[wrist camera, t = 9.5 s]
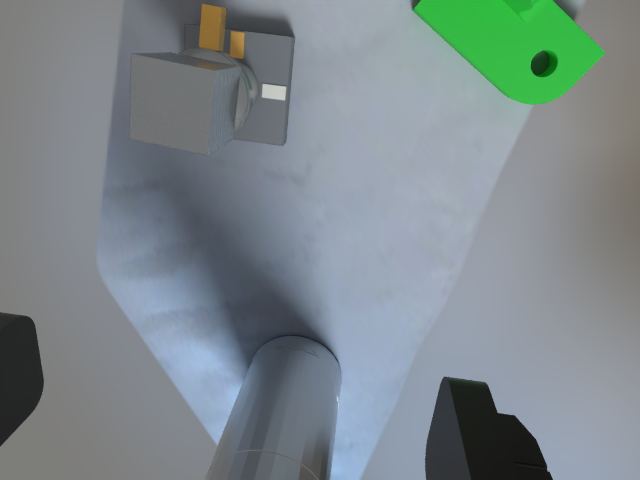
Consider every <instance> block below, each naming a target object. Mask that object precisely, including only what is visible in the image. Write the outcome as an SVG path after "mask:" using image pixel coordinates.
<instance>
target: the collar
mask: <svg viewBox="0 0 640 480" xmlns="http://www.w3.org/2000/svg"><path fill="white" fill-rule="evenodd" d="M226 12H227V9H226V8H222V7H217V6H212V5H207V4H202V10H201V24H200V37H199V47H201V48H194V49H189V50H186V51H183V52H181V53H179V54H176V53H171V52H169V53H139V54H131V93H130V139H132V140H137V141H142V142H147V143H152V144H156V145H161V146H166V147H171V148H176V149H180V150H185V151H190V152H195V153H200V154H204V155H209V154H210V153H212V152H213V151H215V150H216V149H218V148H220V147H221V146H223V145H224V144H226V143H227V142H229V141H230V140H232V139H233V138H234V132H235V131H237V130H238V129H239V128H241V127H242V126H243V124H244V123H245V122H246V120H247V119H248V117H249V115H250V112H251V109H252V105H253V89H252V85H251V81H250V79H249V76H248V74H247V72H246V71H245V69H244V68H243V66H242V65H241V64H240V63H239V62H238V61H237V60H236V59H235V58H234V57H232V56H231V55H229V54H228V53H226V52H223V45H224V34H225V23H226Z"/></svg>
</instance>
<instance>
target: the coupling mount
mask: <svg viewBox="0 0 640 480" xmlns="http://www.w3.org/2000/svg"><path fill="white" fill-rule="evenodd" d="M199 37H200V26H199V25H191V24H185V51H186V50H189V49H194V48H201V47H199ZM294 42H295V37H289V36H281V35H272V34H264V33H256V32H248V31H240V30H232V29H225V34H224V45H223V52H226V53H228V54H229V55H231V56H232V57H234V58H235V59H236V60H237V61H238V62H239V63H240V64H241V65H242V66H243V68H244V69H245V71H246V72H247V74H248V76H249V79H250V81H251V85H252V89H253V105H252V109H251V112H250V115H249V117H248V119H247V120H246V122H245V123H244V124H243V126H242V127H241V128H239V129H238V130H237V131H235V132H234V138H233V139H237V140H244V141H251V142H259V143H266V144H273V145H281V146H283V145H284V144H285V143H286V137H287V125H288V113H289V101H290V90H291V78H292V66H293V54H294Z"/></svg>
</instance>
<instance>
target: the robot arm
mask: <svg viewBox="0 0 640 480" xmlns="http://www.w3.org/2000/svg"><path fill="white" fill-rule="evenodd" d="M43 385H44V379H43V372H42V366H41V359H40V353H39V347H38V340H37V334H36V328H35V324H34V322H33V320H32V319H31V318H30V317H27V316H22V315H15V314H8V313H1V312H0V446H1V445H2V444H3V443H4V442H5V441H6V440H7V439H8V438H9V437H10V436H11V434H12V433H13V432H14V431H15V430H16V429H17V428H18V427H19V426H20V425H21V424H22V423H23V422H24V421H25V420H26V419H27V417H28V416H29V415H30V414H31V413H32V412H33V410H34V409H35V408H36V406H37V404H38V402H39V400H40V398H41V395H42V391H43ZM340 387H341V370H340V367H339V364H338V362H337V361H336V359H335V357H334V356H333V355H332V354H331V353H330V351H329V350H328V349H327V348H325V347H324V346H322V345H321V344H319V343H317V342H315V341H313V340H311V339H308V338H304V337H299V336H284V337H279V338H276V339H272V340H270V341H269V342H267V343H265V344H264V345H263V346H261V347H260V348H259V349H258V350H257V352H256V354H255V355H254V357H253V359H252V362H251V364H250V367H249V369H248V372H247V374H246V377H245V379H244V381H243V384H242V386H241V389H240V391H239V394H238V396H237V399H236V401H235V404H234V406H233V409H232V411H231V414H230V416H229V419H228V421H227V424H226V426H225V429H224V431H223V434H222V436H221V439H220V441H219V444H218V446H217V449H216V451H215V454H214V456H213V459H212V461H211V464H210V466H209V469H208V471H207V474H206V476H205V479H204V480H330V477H331V468H332V459H333V450H334V441H335V431H336V422H337V413H338V405H339V396H340ZM425 470H426V480H553V479H552V477H551V474H550V472H547V465H546V462H545V460H544V458H543V455H542V453H541V450H540V448H539V445H538V443H537V441H536V439H535V438H534V437H533V436H532V434H531V433H530V432H529V431H528V430H527V429H526V428H525V427H524V425H522V423H521V422H520V421H519V420H518V419H517V418H516V416H514V415H507V414H500V413H497V410H496V407H495V404H494V401H493V398H492V395H491V393H490V390H489V387H488V385H487V384H486V383H485V382H479V381H472V380H465V379H458V378H451V377H444V378H443V379H442V382H441V384H440V389H439V392H438V396H437V401H436V405H435V410H434V414H433V418H432V422H431V426H430V430H429V435H428V439H427V445H426V458H425Z"/></svg>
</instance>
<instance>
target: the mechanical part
mask: <svg viewBox="0 0 640 480" xmlns="http://www.w3.org/2000/svg"><path fill="white" fill-rule="evenodd" d="M413 12H415V13H416V14H417V15H418V16H419V17H420V18H421V19H422V20H423V21H424V22H425V23H427V24H428V25H429V26H430V27H431V28H432V29H433V30H434V31H435V32H436V33H437V34H438V35H440V36H441V37H442V38H443V39H444V40H445V41H446V42H447V43H448V44H449V45H450V46H452V47H453V48H454V49H455V50H456V51H457V52H458V53H459V54H460V55H461V56H462V57H463V58H465V59H466V60H467V61H468V62H469V63H470V64H471V65H472V66H473V67H474V68H475V69H477V70H478V71H479V72H480V73H481V74H482V75H483V76H484V77H485V78H486V79H487V80H488V81H490V82H491V83H492V84H493V85H494V86H495V87H496V88H497V89H498V90H499V91H500V92H502V93H503V94H504V95H505V96H507V97H509V98H511V99H513V100H516V101H518V102H521V103H525V104H542V103H546V102H549V101H552V100H554V99H556V98H558V97H560V96H561V95H563V94H564V93H565V92H567V91H568V90H569V89H570V88H571V87H572V86H573V85H574V84H575V83H576V82H577V81H578V80H579V79H580V78H581V77H582V76H583V75H584V74H585V73H586V72H587V71H588V70H589V69H590V68H591V67H592V66H593V65H594V64H595V63H596V62H597V61H598V60H599V59H600V58H601V57H602V56H603V55H604V54H605V52H604V51H603V50H602V49H601V48H600V47H599V46H598V45H597V44H596V43H595V42H594V41H593V40H592V39H591V38H590V37H589V36H588V35H587V34H586V33H585V32H584V31H583V30H582V29H581V28H580V27H579V26H578V25H577V24H576V23H575V22H574V21H573V20H572V19H571V18H570V17H569V16H568V15H567V14H566V13H565V12H564V11H563V10H562V9H561V8H560V7H559V6H558V5H557V4H556V3H555V2H554V1H553V0H420V2H419V3H418V4H417V6H416V7H415V8H414V9H413ZM540 51H545V52H546V53H547V54H548V56H549V65H548V67H547V69H546V70H545V71H544V72H543V73H542V74H540V75H537V76H536V75H534V74H533V72H532V70H531V61H532V59H533V57H534V56H535V55H536V54H537V53H538V52H540Z"/></svg>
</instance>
